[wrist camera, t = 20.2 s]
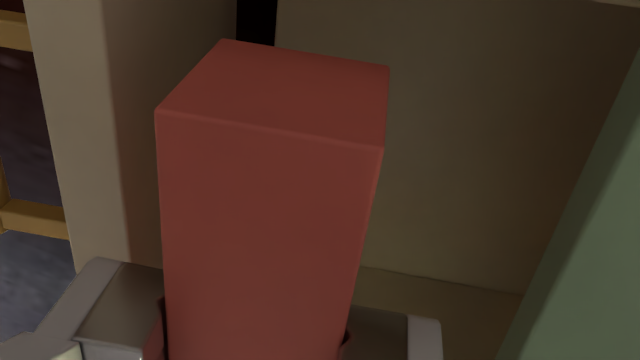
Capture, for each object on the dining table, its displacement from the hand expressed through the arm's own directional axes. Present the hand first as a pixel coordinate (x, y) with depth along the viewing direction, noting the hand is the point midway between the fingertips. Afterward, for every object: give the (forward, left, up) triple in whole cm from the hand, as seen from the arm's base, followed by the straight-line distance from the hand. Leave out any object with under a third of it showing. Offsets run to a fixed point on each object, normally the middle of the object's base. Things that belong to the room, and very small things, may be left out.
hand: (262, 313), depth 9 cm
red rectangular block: (0, 0, -2) cm, 2 cm away
